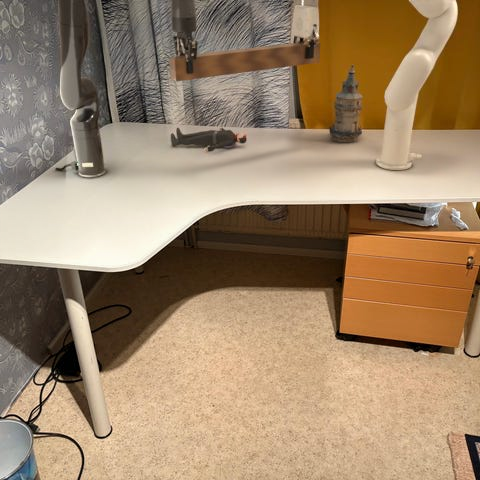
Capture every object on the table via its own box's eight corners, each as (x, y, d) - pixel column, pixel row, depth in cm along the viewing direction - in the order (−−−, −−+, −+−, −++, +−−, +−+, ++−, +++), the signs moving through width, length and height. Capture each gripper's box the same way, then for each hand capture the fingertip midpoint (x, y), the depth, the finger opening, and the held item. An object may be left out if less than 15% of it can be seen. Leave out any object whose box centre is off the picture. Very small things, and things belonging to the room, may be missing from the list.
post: (311, 60, 196) (312, 41, 193) (319, 62, 193) (320, 42, 190) (170, 78, 173) (168, 57, 170) (176, 81, 170) (174, 59, 166)
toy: (183, 121, 228) (252, 121, 222) (184, 135, 231) (252, 135, 225) (163, 141, 206) (239, 141, 200) (165, 156, 209) (240, 157, 203)
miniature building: (330, 144, 216) (335, 67, 201) (326, 133, 228) (331, 60, 213) (363, 144, 215) (371, 67, 200) (358, 133, 227) (365, 60, 212)
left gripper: (163, 13, 168) (167, 69, 176) (181, 18, 157) (185, 77, 165) (185, 11, 171) (188, 66, 179) (204, 16, 160) (207, 74, 168)
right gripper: (284, 0, 188) (283, 54, 197) (313, 4, 175) (310, 62, 184) (301, -1, 191) (299, 52, 200) (331, 3, 178) (328, 59, 187)
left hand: (186, 71), depth 172 cm, fingers closed on post, 4 cm apart
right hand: (305, 56), depth 192 cm, fingers closed on post, 4 cm apart
